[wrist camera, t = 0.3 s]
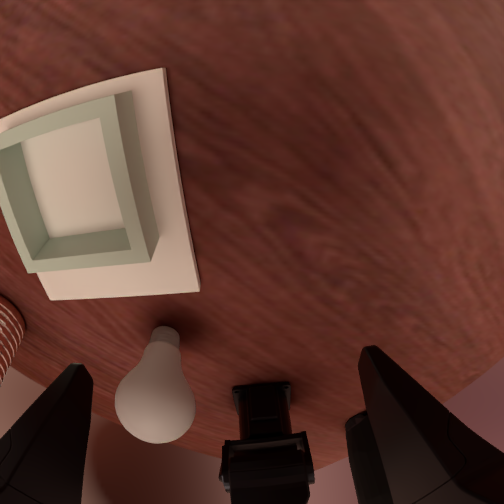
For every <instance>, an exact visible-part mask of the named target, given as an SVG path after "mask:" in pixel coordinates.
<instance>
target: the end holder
mask: <svg viewBox="0 0 504 504" xmlns="http://www.w3.org/2000/svg"><path fill="white" fill-rule="evenodd" d="M0 206H1V209H2V212H3V215H4V217H5V220H6V223H7V225H8V228H9V231H10V233H11V236H12V238H13V240H14V243H15V245H16V248H17V250H18V252H19V255H20V257H21V259H22V261H23V263H24V266H25V268H26V270H27V272H28V273H37V275H38V277H39V279H40V281H41V283H42V285H43V287H44V289H45V291H46V293H47V295H48V297H49V299H50V300H69V299H91V298H110V297H127V296H143V295H158V294H173V293H186V292H199V291H200V284H201V283H200V278H199V273H198V268H197V264H196V259H195V254H194V248H193V243H192V238H191V233H190V228H189V222H188V217H187V211H186V206H185V200H184V194H183V188H182V182H181V176H180V170H179V164H178V157H177V151H176V144H175V137H174V130H173V123H172V116H171V109H170V101H169V93H168V85H167V76H166V68H159V69H153V70H148V71H144V72H139V73H135V74H130V75H126V76H122V77H118V78H114V79H110V80H106V81H103V82H99V83H96V84H92V85H89V86H85V87H82V88H79V89H76V90H73V91H70V92H67V93H64V94H61V95H58V96H55V97H53V98H50V99H47V100H44V101H42V102H39V103H37V104H34V105H32V106H29V107H27V108H24V109H22V110H20V111H17V112H15V113H13V114H10V115H8V116H6V117H4V118H2V119H0Z"/></svg>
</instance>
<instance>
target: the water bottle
mask: <svg viewBox="0 0 504 504" xmlns="http://www.w3.org/2000/svg"><path fill="white" fill-rule="evenodd" d="M24 334H25V323H24V320H23V318H22V316H21V314H20V313H19V311H18V310H17V309H16V307H15V306H14V305H13V304H12V303H11V302H9V301H8V300H7V299H6V298H4V297H2V296H1V295H0V386H1V384H2V382H3V379H4V377H5V375H6V372H7V370H8V369H9V366H10V364H11V362H12V360H13V358H14V356H15V354H16V351H17V350H18V348H19V345H20V344H21V342H22V339H23V337H24Z"/></svg>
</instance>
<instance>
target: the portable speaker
mask: <svg viewBox="0 0 504 504" xmlns="http://www.w3.org/2000/svg"><path fill="white" fill-rule="evenodd" d="M345 428H346V440H347V448H348V456H349V463H350V467H351V472H352V476H353V480H354V485H355V489H356V494H357V499H358V503H359V504H394V503H393V499H392V495H391V491H390V488H389V484H388V480H387V477H386V473H385V470H384V466H383V463H382V459H381V456H380V453H379V449H378V446H377V443H376V439H375V436H374V433H373V430H372V426H371V423H370V420H369V417H368V415H367V416H364V415H362V414H358V415H356V416H355V417H353V418H351V419H349V421H348V422H347V423H346V424H345Z"/></svg>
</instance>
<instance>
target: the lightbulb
mask: <svg viewBox="0 0 504 504" xmlns="http://www.w3.org/2000/svg"><path fill="white" fill-rule="evenodd" d="M179 340H180V337H179V334H178V332H177V331H176V330H174V329H173V328H171V327H168V326H160V327H157V328H155V329H154V330H153V332H152V335H151V338H150V342H149V344H148V345H147V346H146V348H145V351H144V354H143V357H142V359H141V361H140V362H139V363H138V365H137V366H136V367H135V368H134V369H132V370H131V371H130V372H129V373H128V374H127V375H126V376H125V377H124V378H123V379H122V380H121V382H120V384H119V386H118V388H117V390H116V394H115V408H116V413H117V415H118V417H119V419H120V421H121V423H122V424H123V426H124V427H125V428H126V430H128V431H129V432H130V433H131V434H132V435H134V436H135V437H137V438H139V439H141V440H143V441H146V442H150V443H166V442H170V441H173V440H175V439H177V438H179V437H180V436H182V435H183V434H184V433H185V432H186V431H187V430H188V429H189V428H190V426H191V424H192V422H193V420H194V416H195V413H196V403H195V398H194V394H193V392H192V390H191V388H190V386H189V384H188V382H187V380H186V379H185V377H184V375H183V372H182V369H181V354H180V351H179V344H180V342H179Z"/></svg>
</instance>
